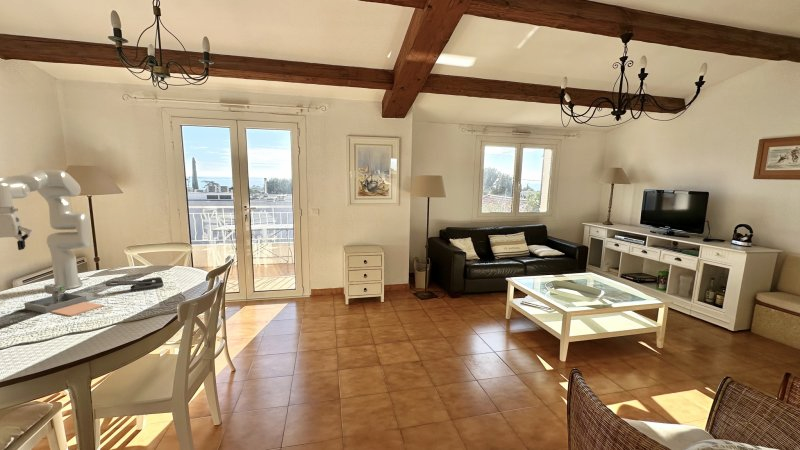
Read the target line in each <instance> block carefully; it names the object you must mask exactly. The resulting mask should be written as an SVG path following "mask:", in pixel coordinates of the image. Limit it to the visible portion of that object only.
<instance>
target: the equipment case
mask: <svg viewBox="0 0 800 450" xmlns="http://www.w3.org/2000/svg"><path fill="white" fill-rule="evenodd" d="M59 295H60V296H58V299H59V301H62V300H65V301H62V302H59V303H57V304H54V298H53V297H52V295H50V296H47V297H46V296H45V297H43V298H39V299H35V300H31V301H26V302H24V303H23V304H24V309H25V310H28V311H34V312H38V313H44V314H49V313H51V311H53V310H57V309H60V308H64V307H67V306H71V305H75V304H78V303H82V302H92V301H94V300H98V299H102V298H104V297H105V298H106V295H105V294H99V293H96V292H95V293H93V292H87V291H83V292H78V293H70V292H64V293H61V294H59ZM51 303H53V304H51ZM48 304H50V305H48ZM46 305H47V306H46Z"/></svg>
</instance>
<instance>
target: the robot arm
mask: <svg viewBox="0 0 800 450" xmlns="http://www.w3.org/2000/svg"><path fill="white" fill-rule="evenodd" d="M81 190H82V188H81V186H80V184H79V182H77V180H76V179H74V178H73V176H71V175H70V174H69V173H68V172H66V171H64V170H61V169H59V170H58V169H37V170H33V171H29V172H27V173H25V174H19V175H17V174H16V175H11V176H2V177H0V238H15V239H17V240H18V241H17V242H16V244H17V250H18V251H22V250H24V249H25V248H26V241H25V240H27V239H28V238H29V237H30V235H31V233H32V232H33V230H32V229H29V228H26V227H23V226H22V223H21V220H20V217H19V214H18V213H15V212H19V208H18V207H14V203H13V199H16V200H17V199H24V198H26V197H28V196H29V195H30V193H31V192H37V193H38V194H39V195H40V196H41V197H42V198H43V199H44V200H45V201H46V202H47V205H48V211H49V212H48V213H49V214H48V215H49V224H50V227H51V228H52V229H53V230H57V232H54V233H50V234H49V235H48V236H47V237H46V244H47V247H48V249H49V253H50V257H51V263H52V264H51V265H52V266H51V267H52V273H53V280H54V284H55V285H59V287H60V286H64V287H65V291H66V290H72V289H76V288H80V287H82V286H83V284H84V283H83V281H88V280H89V279H90V277H89V276H84V277H83V276H79V274H78V265H77V257H76V254H75V252H73V251H72V250H74V249H75V250H76V249H85V248H88V247H89V246H90V245H91V223H90V218H89V216H88V215H87V214H86V213H84V212H72V208H71V207H72V206H71V203H70V202H69V200H68V199H67V198H71V197H72V198H74V197H77V196H80V194H81V192H82V191H81ZM58 230H59V231H60V230H61V231H62V232H58ZM67 230H76V231H67ZM23 233H24V235H23Z"/></svg>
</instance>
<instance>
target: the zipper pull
mask: <svg viewBox="0 0 800 450" xmlns="http://www.w3.org/2000/svg"><path fill="white" fill-rule="evenodd" d="M130 285H131V286H130ZM105 286H106V287H117V286H118V287H119V286H130V291H131V292H134V293H135V292H143V291H149V290H156V289H161V288H163V287H164V281H163V279H162V277H160V276H156V277H149V278H144V279H141V280H107V281H105Z"/></svg>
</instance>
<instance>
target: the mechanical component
mask: <svg viewBox="0 0 800 450" xmlns="http://www.w3.org/2000/svg"><path fill="white" fill-rule="evenodd" d="M43 288H44V292H45V294H48V295H49V294H50V295H51V296H52V297H53V298H54V302H53V304H57V303H60V300H59V299H58V296H60V295H59V294H62V293H66V290H65V287H64V286H60V287H59V285H55V283H54V284H53V283H50V284H46V285H44V287H43Z"/></svg>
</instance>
